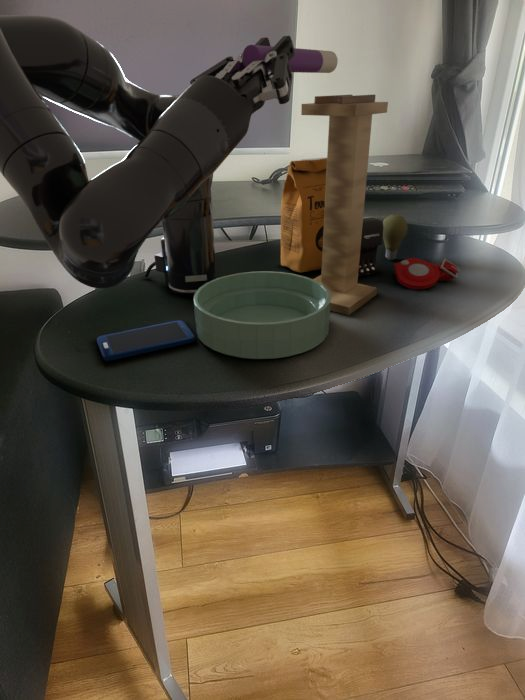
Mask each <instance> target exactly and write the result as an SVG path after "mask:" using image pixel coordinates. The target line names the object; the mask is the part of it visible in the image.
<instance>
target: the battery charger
mask: <svg viewBox="0 0 525 700" xmlns="http://www.w3.org/2000/svg"><path fill="white" fill-rule="evenodd" d="M382 222H383V221H382V220H381V219H379V218H376V217H375V216H363V226H362V237H361V248H360V260H359V271H358V278H360V277H365V276H371V275H373V274H376V273H377V270H378V269H377V268H378V267H377V254H378V253H377V252H378V247H379V246H382V245H383V242H384V239H383V229H384V226H383V223H382Z"/></svg>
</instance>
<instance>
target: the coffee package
mask: <svg viewBox="0 0 525 700" xmlns="http://www.w3.org/2000/svg"><path fill="white" fill-rule="evenodd" d="M326 172H327V157H325V158H319V159H318V158H317V159H309V160H308V159H304V160H303V159H302V160H301V159H300V160H291V161H290V162H289V164H288V168H287V172H286V178H285V181H284V183H283V188H282V191H281V192H282V193H281V200H280V201H281V202H280V203H281V205H280V266H282V267H285V268H288V269H290V270H291V271H293V272H296V273H299V274H303V273H309V272H314V271H322V254H323V233H324V213H325V192H326Z"/></svg>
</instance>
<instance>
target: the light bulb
mask: <svg viewBox="0 0 525 700" xmlns="http://www.w3.org/2000/svg"><path fill="white" fill-rule="evenodd" d="M382 222H383V226H384V229H383V242H384V248H385V258H386V259H387V260H388V261H391V262H392V261H393V260H395V259H397V256H398V250H399V248H400V246H401V243H402V242H403V240H404V238H405V236H406V235H407V232H408V229H409V226H407V225H408V222H407V220H406V219H405V218H404V217H403V216H402V215H401V214H396V213H395V214H390V215H388V216H387V217H385V218H384V219H383V221H382Z"/></svg>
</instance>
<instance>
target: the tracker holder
mask: <svg viewBox="0 0 525 700" xmlns="http://www.w3.org/2000/svg"><path fill="white" fill-rule="evenodd" d="M393 266H394V275H395V278H396V280H397V282H398V283H399V284H400V285H402V286H403V287H405V288H408V289H411V290H426V289H429V288H431V287H434V286H435V285H436V284H437V282H438V281H443V282H444V281H451V280H454V279H458V276H459V274H460V272H461V271H460V270H461V268H460V267H458V266H457V265H455V264H454V263H453V262H451V261H449V260H448V259H447V258H443V260H442V262H440V263H439V264H434V263H432V262H429V261H427V260H423V259H420V258H416V257H408V258H406V259H403V260H401V261H399V262H396V263H394V264H393Z"/></svg>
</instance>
